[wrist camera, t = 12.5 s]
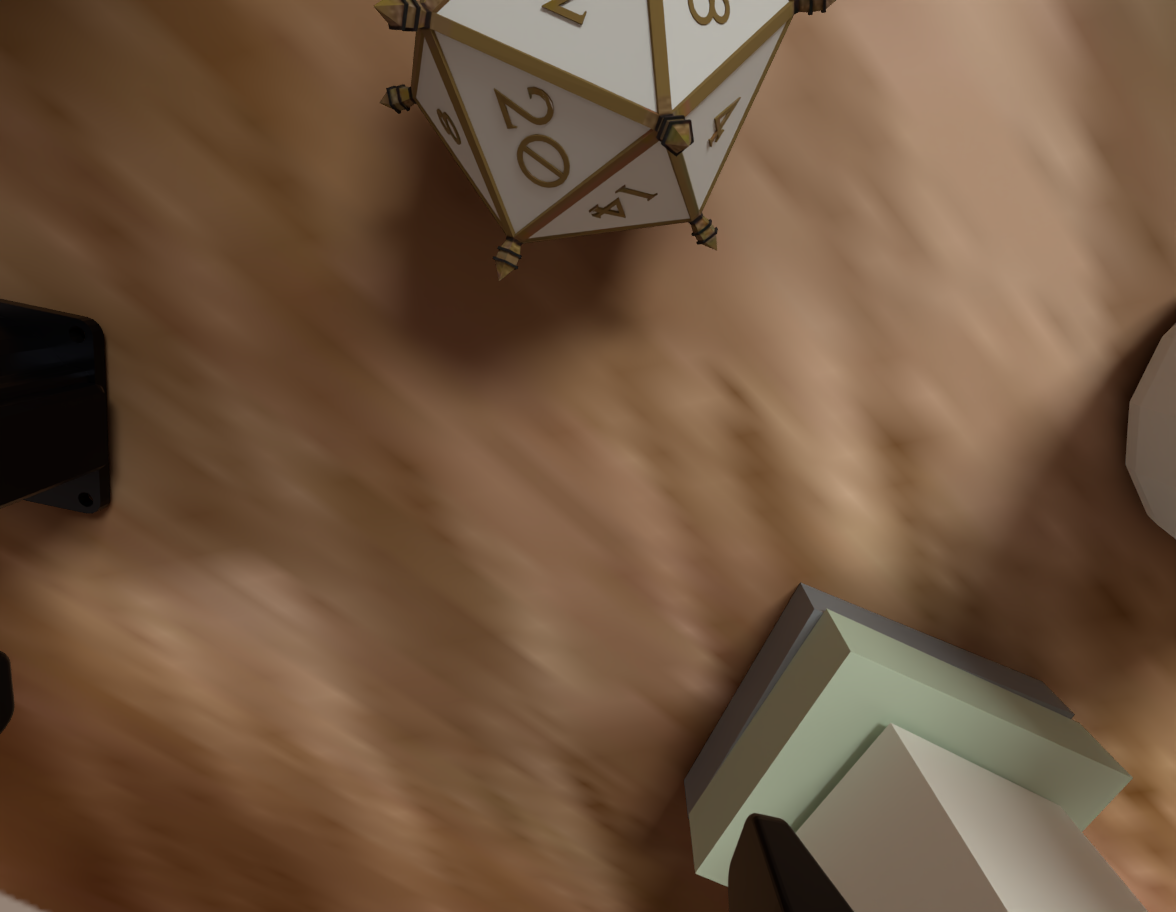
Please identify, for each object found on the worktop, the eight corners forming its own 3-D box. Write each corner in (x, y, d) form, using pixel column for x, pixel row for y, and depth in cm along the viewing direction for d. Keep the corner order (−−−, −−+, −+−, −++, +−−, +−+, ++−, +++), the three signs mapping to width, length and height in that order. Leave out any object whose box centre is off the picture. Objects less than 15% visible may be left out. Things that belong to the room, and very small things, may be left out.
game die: (657, 158, 21) (829, 336, 14) (390, 184, 19) (451, 407, 12) (705, -254, 14) (1064, -268, 8) (301, -284, 12) (332, -338, 6)
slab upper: (688, 814, 22) (695, 873, 20) (826, 608, 19) (851, 651, 17) (915, 909, 22) (945, 976, 20) (1079, 722, 20) (1133, 777, 18)
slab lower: (682, 769, 24) (688, 818, 22) (795, 574, 21) (814, 608, 19) (895, 851, 24) (920, 906, 22) (1031, 670, 22) (1074, 714, 20)
